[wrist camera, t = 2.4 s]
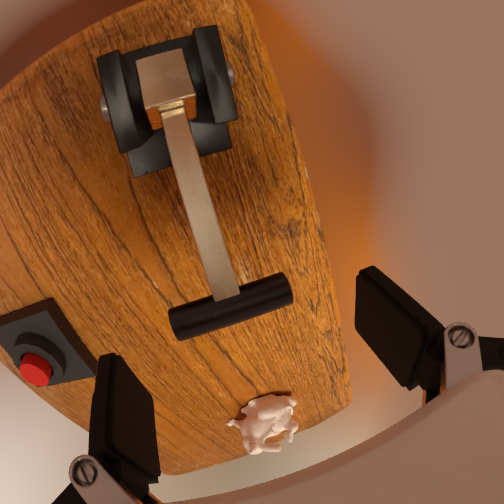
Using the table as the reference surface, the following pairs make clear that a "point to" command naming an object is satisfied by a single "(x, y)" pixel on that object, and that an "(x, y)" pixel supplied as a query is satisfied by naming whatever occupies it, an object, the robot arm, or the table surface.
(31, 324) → the control block
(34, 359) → the button
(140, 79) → the lever
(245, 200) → the table surface
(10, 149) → the table surface
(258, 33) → the table surface
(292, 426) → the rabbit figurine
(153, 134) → the switch bracket
